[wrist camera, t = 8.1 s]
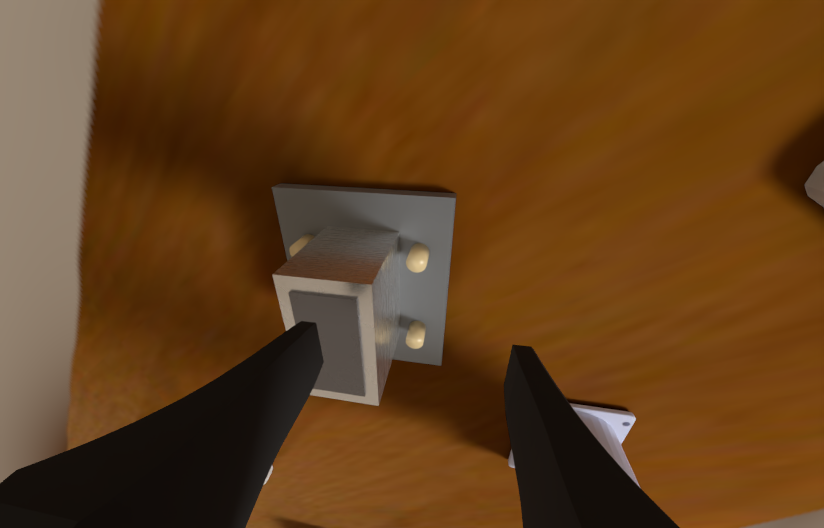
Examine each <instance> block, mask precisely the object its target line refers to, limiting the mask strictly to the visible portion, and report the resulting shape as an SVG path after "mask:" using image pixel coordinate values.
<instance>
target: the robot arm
mask: <svg viewBox="0 0 824 528" xmlns="http://www.w3.org/2000/svg"><path fill="white" fill-rule="evenodd" d="M323 363H324V360H323V355H322V350H321V345H320V340H319V335H318V330H317V325H316V323H315V322H306V321H300V322H299V323H297V324H296V325H294V326H293V327H292V328H290V329H289V330H287V331H286V332H284V333H283V334H282V335H280V336H279V337H277V338H276V339H275V340H273V341H272V342H271V343H269V344H268V345H266V346H265V347H263V348H262V349H261V350H259V351H258V352H256V353H255V354H253V355H252V356H251V357H249V358H248V359H246V360H245V361H243V362H241V363H240V364H238V365H237V366H235V367H234V368H232V369H231V370H229V371H228V372H226V373H225V374H223V375H221V376H220V377H218V378H217V379H215V380H213V381H212V382H210V383H208V384H207V385H205V386H203V387H202V388H200V389H198V390H196V391H194V392H193V393H191V394H189V395H187V396H185V397H184V398H182V399H180V400H178V401H176V402H174V403H172V404H170V405H168V406H166V407H164V408H162V409H160V410H158V411H156V412H154V413H152V414H150V415H148V416H146V417H144V418H142V419H140V420H138V421H136V422H134V423H131V424H129V425H127V426H125V427H123V428H120V429H118V430H116V431H114V432H111V433H109V434H107V435H104V436H102V437H100V438H97V439H95V440H93V441H90V442H88V443H86V444H83V445H81V446H78V447H76V448H73V449H71V450H68V451H65V452H63V453H60V454H58V455H55V456H53V457H50V458H48V459H45V460H42V461H40V462H37V463H35V464H32V465H29V466H26V467H24V468H21V469H18V470H16V471H15V472H14V473H12V474H11V475H10V476H9V477H7V478H6V479H5V480H4V481H3V482H1V483H0V528H245V527H246V524H247V522H248V520H249V517H250V515H251V512H252V510H253V508H254V505H255V503H256V500H257V498H258V496H259V493H260V491H261V489H262V486H263V484H264V482H265V480H266V477H267V475H268V473H269V471H270V468H271V466H272V464H273V462H274V459H275V457H276V455H277V453H278V451H279V450H280V448H281V446H282V444H283V442H284V440H285V438H286V437H287V435H288V433H289V431H290V429H291V428H292V426H293V424H294V422H295V420H296V419H297V417H298V415H299V413H300V411H301V410H302V408H303V406H304V404H305V402H306V400H307V399H308V397H309V395H310V393H311V391H312V389H313V387H314V385H315V383H316V380H317V378H318V376H319V373H320V370H321V368H322V365H323ZM504 396H505V411H506V419H507V425H508V431H509V437H510V442H511V448H512V449H511V452H510V455H509V459H508V464H509V466H511V467H513V468H515V470H516V476H517V481H518V487H519V494H520V501H521V509H522V520H523V528H679V527H678V526H677V525H676V524H675V523H674V522H673V521H672V520H671V519H670V518H669V517H668V516H667V515H666V514H665V513H664V512H663V511H662V510H661V509H660V508H659V507H658V506H657V505H656V504H655V503H654V502H653V501H652V500H651V499H650V498H649V497H648V496H647V495H646V494H645V493H644V492H643V490H642V489H641V488H640V486H639V484H638V482H637V480H636V477H635V475H634V473H633V471H632V468H631V466H630V464H629V462H628V459H627V457H626V455H625V453H624V451H623V448H622V446H621V444H622V442H623V440H624V439H625V437H626V435H627V434H628V432H629V430H630V429H631V427H632V425H633V424H634V422H635V420H636V418H635V416H634V415H633V413H631V412H627V411H620V410H614V409H607V408H600V407H593V406H586V405H579V404H572V403H569V402H568V401H567V399H566V398H565V397H564V395H563V394H562V392H561V391H560V389H559V388H558V387H557V385H556V384H555V382H554V381H553V379H552V378H551V376H550V375H549V373H548V372H547V370H546V368H545V367H544V365H543V364H542V362H541V361H540V359H539V357H538V356H537V354H536V353H535V351H534V349H533V348H532V347H529V346H520V345H513V346H512V350H511V355H510V359H509V364H508V369H507V373H506V378H505V382H504Z"/></svg>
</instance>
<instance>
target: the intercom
mask: <svg viewBox="0 0 824 528" xmlns="http://www.w3.org/2000/svg"><path fill="white" fill-rule="evenodd" d="M804 186H805V189H806V192H807V195H808V196H809V197H810V198H811V199H813V200H814V201H816V202H817V203H818V204H820V205H821V206H822V207H824V161H823V162H822V163H820V164H819V165H818V166H817V167H816V168H815V170H814V171H813V173H812V174H811V176H810V177H809V179H808V180H807V182H806V183H805V184H804Z"/></svg>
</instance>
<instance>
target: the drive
mask: <svg viewBox="0 0 824 528" xmlns="http://www.w3.org/2000/svg"><path fill="white" fill-rule="evenodd" d="M272 275H273V279H274V284H275V288H276V292H277V296H278V300H279V304H280V308H281V312H282V316H283V320H284V324H285V328H286V331H287V330H289V329H290V328H292V327H293V326H294V325H296V324H297V323H299V322H300V321H306V322H315V323H316V325H317V330H318V335H319V340H320V345H321V350H322V355H323V360H324V363H323V365H322V368H321V370H320V373H319V376H318V378H317V380H316V383H315V385H314V387H313V389H312V391H311V393H310V395H314V396H320V397H326V398H332V399H339V400H345V401H351V402H358V403H364V404H370V405H376V406H379V404H380V400H381V397H382V393H383V390H384V386H385V383H386V379H387V376H388V373H389V369H390V366H391V362H392V359H393V355H394V352H395V349H396V345H397V342H398V338H399V335H400V241H399V232H396V231H383V230H370V229H357V228H344V227H331V226H327V227H326V228H324V229H323V230H322V231H321V232H320V233H319V234H318V235H317V236H315V237H314V238H313V239H312V240H311V241H310V242H309V243H307V244H306V245H305V246H304V247H303V248H302V249H301V250H300V251H298V252H297V253H296V254H295V255H294V256H293V257H292V258H290V259H289V260H288V261H287V262H286V263H285V264H284V265H283V266H281V267H280V268H279V269H278V270H277V271H276V272H275V273H273V274H272Z"/></svg>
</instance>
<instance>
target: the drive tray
mask: <svg viewBox="0 0 824 528" xmlns="http://www.w3.org/2000/svg"><path fill="white" fill-rule="evenodd" d="M272 191H273V196H274V200H275V205H276V210H277V214H278V219H279V224H280V229H281V233H282V238H283V243H284V247H285V252H286V257H287V261H288V260H289V259H290V258H292V257H293V256H294V255H295V254H296V253H297V252H298V251H300V250H301V249H302V248H303V247H304V246H305V245H306V244H307V243H309V242H310V241H311V240H312V239H313V238H314V237H315V236H317V235H318V234H319V233H320V232H321V231H322V230H323V229H324V228H326V227H327V226H331V227H344V228H357V229H370V230H383V231H396V232H399V241H400V335H399V338H398V342H397V345H396V349H395V352H394V355H393V359H395V360H402V361H409V362H417V363H424V364H432V365H439V366H441V364H442V353H443V341H444V330H445V318H446V306H447V295H448V283H449V271H450V260H451V248H452V237H453V225H454V213H455V202H456V193H443V192H426V191H408V190H390V189H373V188H355V187H337V186H320V185H302V184H284V183H280V184H278V185H276V186H273V187H272Z"/></svg>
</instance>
